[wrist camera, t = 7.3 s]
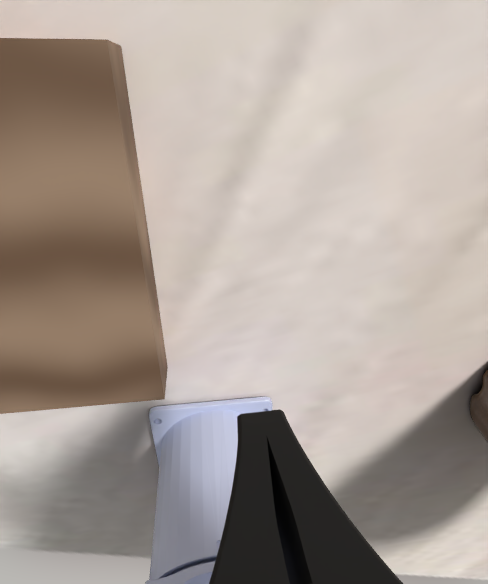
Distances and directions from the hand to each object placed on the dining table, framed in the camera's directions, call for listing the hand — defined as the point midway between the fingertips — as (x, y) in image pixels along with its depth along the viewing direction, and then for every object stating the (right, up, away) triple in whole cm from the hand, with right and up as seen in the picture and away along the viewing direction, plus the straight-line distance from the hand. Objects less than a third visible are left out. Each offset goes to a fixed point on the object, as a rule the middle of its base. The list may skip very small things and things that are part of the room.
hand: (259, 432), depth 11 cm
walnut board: (-10, +6, +6) cm, 13 cm away
